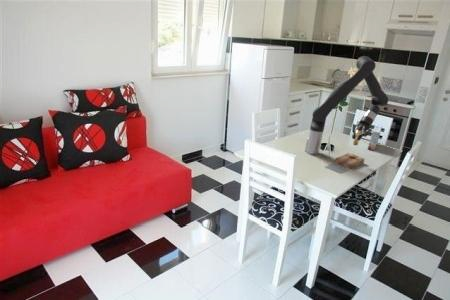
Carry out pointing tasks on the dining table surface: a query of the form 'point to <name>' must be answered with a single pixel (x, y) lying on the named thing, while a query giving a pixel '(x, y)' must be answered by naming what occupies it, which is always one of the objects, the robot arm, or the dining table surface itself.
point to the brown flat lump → (349, 160)
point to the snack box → (374, 138)
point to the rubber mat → (336, 168)
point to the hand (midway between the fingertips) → (355, 139)
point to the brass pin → (356, 137)
